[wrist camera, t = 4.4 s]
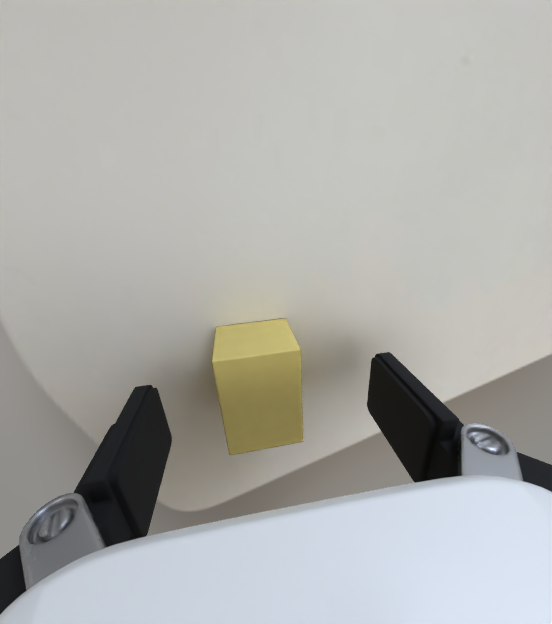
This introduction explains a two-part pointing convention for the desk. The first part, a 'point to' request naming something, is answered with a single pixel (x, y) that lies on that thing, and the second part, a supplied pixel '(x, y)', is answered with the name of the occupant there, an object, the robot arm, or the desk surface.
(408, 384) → the robot arm
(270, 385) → the butter
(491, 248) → the desk surface
